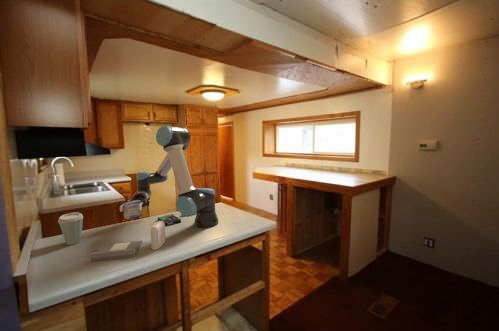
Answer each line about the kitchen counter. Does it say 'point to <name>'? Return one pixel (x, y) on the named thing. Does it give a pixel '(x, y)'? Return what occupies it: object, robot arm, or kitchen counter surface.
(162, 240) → the photo printer
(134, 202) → the medicine box
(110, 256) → the dock
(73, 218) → the disposable coffee cup
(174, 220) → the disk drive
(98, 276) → the kitchen counter surface
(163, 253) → the kitchen counter surface
